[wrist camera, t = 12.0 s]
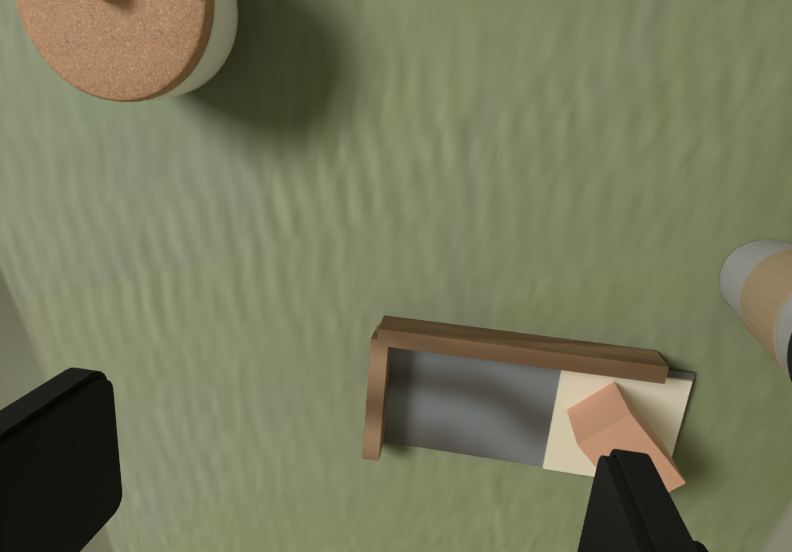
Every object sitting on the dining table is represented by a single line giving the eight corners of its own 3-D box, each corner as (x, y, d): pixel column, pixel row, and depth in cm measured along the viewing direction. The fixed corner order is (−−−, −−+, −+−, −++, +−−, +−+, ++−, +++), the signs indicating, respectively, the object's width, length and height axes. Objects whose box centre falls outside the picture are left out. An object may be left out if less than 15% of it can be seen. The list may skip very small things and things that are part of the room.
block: (566, 409, 44) (577, 444, 40) (614, 381, 43) (630, 414, 38) (615, 469, 45) (631, 511, 41) (663, 443, 44) (686, 483, 39)
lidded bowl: (275, 96, 41) (207, 90, 31) (127, 111, 43) (16, 109, 33) (250, -91, 38) (163, -170, 27) (90, -66, 40) (-48, -130, 29)
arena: (378, 314, 45) (371, 328, 42) (698, 355, 42) (714, 373, 39) (369, 438, 49) (362, 458, 46) (663, 484, 46) (675, 508, 43)
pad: (562, 362, 44) (563, 364, 43) (691, 380, 42) (692, 381, 42) (542, 466, 47) (543, 468, 46) (662, 485, 45) (663, 487, 45)
